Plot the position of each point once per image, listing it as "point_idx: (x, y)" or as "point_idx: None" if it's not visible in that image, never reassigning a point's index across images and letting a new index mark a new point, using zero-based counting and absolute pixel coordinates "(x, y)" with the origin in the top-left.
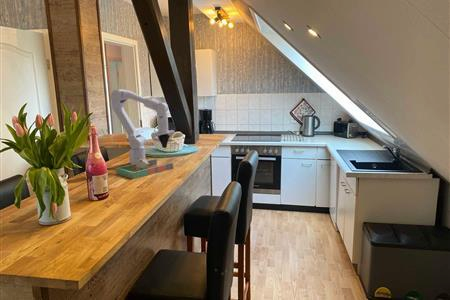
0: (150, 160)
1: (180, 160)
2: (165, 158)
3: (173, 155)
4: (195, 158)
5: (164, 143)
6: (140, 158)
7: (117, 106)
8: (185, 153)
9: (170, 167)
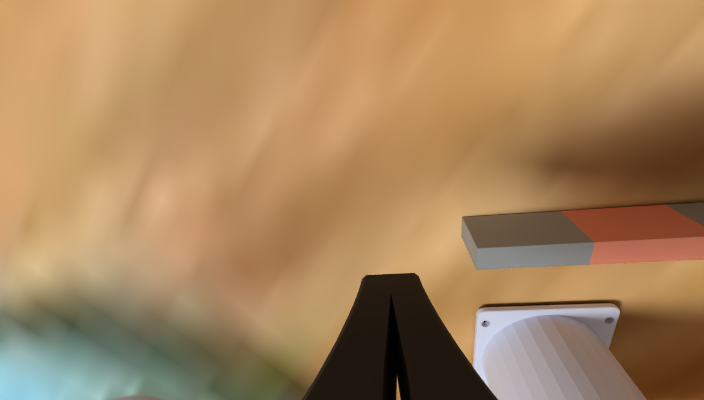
0: (570, 247)
1: (189, 170)
2: (273, 330)
3: (170, 359)
4: (5, 120)
5: (453, 353)
6: (600, 362)
7: None
8: (54, 344)
9: None
